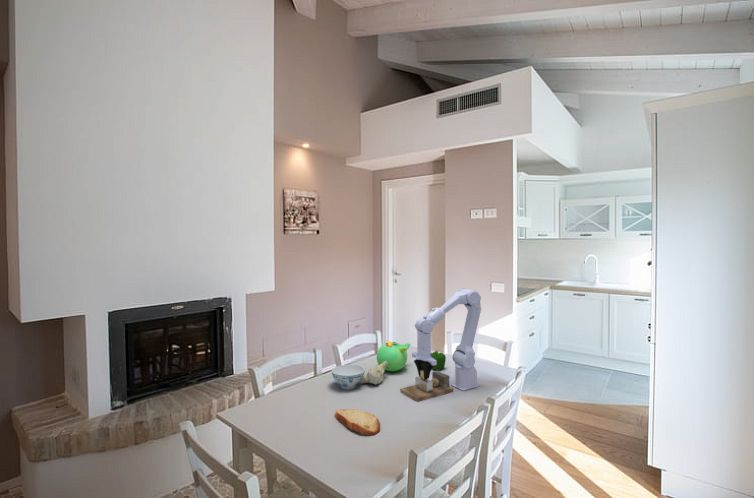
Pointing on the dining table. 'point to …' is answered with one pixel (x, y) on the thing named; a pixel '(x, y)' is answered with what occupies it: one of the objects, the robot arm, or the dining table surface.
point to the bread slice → (358, 421)
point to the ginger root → (374, 374)
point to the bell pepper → (438, 360)
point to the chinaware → (348, 375)
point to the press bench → (439, 389)
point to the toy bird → (393, 355)
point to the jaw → (423, 382)
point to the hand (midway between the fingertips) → (424, 377)
